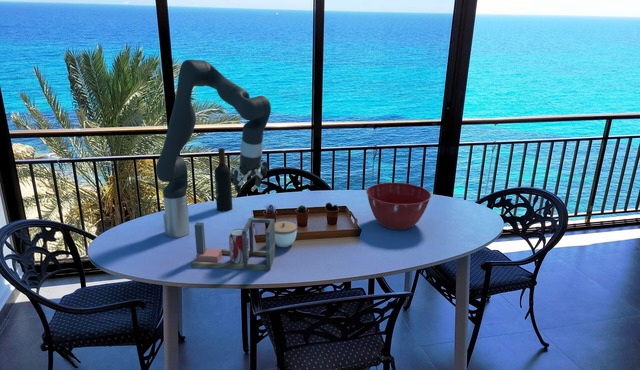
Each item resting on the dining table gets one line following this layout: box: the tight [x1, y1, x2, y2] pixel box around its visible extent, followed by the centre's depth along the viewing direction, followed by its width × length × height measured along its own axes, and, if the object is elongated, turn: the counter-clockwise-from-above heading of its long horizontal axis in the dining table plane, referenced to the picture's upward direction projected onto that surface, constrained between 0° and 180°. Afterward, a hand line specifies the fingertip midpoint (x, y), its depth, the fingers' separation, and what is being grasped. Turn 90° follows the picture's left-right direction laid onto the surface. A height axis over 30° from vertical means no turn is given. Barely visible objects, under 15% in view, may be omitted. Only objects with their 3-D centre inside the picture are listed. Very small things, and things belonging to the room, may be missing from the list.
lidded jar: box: [275, 221, 298, 248], centre depth 181 cm, size 11×11×9 cm
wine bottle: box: [214, 147, 233, 212], centre depth 213 cm, size 8×8×30 cm
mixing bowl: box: [366, 182, 432, 231], centre depth 201 cm, size 28×28×16 cm
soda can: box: [228, 228, 250, 264], centre depth 166 cm, size 7×7×12 cm
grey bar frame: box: [190, 217, 276, 271], centre depth 166 cm, size 29×12×15 cm, turn 87°
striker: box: [193, 222, 223, 263], centre depth 166 cm, size 8×6×14 cm
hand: (247, 188), depth 165 cm, fingers open, 8 cm apart
